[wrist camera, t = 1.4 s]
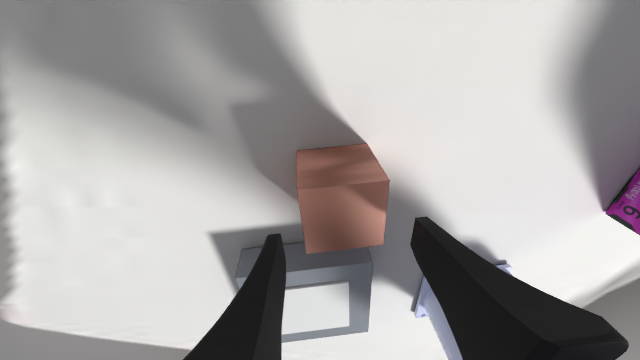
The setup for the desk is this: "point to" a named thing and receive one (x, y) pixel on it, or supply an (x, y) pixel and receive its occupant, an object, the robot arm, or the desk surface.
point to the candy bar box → (628, 205)
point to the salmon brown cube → (341, 198)
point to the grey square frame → (320, 290)
